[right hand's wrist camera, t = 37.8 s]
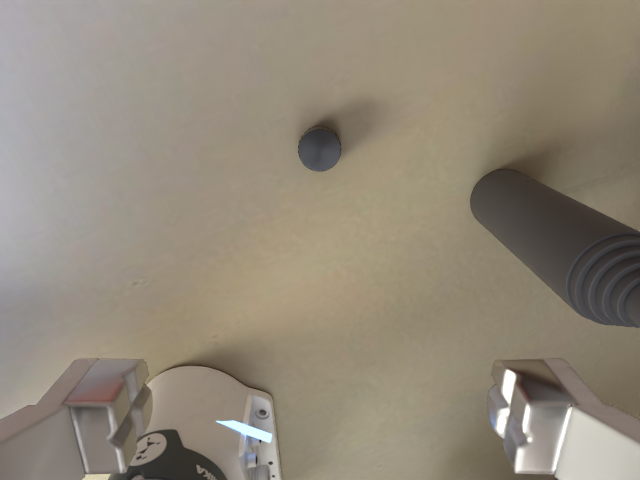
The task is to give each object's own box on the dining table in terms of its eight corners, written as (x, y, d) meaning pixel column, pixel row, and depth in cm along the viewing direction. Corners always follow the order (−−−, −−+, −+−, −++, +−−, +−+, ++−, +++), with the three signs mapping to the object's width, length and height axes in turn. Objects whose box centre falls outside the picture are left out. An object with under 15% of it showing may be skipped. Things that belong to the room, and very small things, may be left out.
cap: (302, 122, 42) (301, 124, 40) (343, 129, 43) (345, 132, 41) (295, 163, 44) (294, 168, 42) (336, 170, 44) (337, 175, 42)
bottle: (518, 157, 43) (737, 249, 21) (540, 209, 45) (763, 347, 23) (460, 188, 45) (608, 308, 22) (484, 237, 46) (643, 396, 24)
